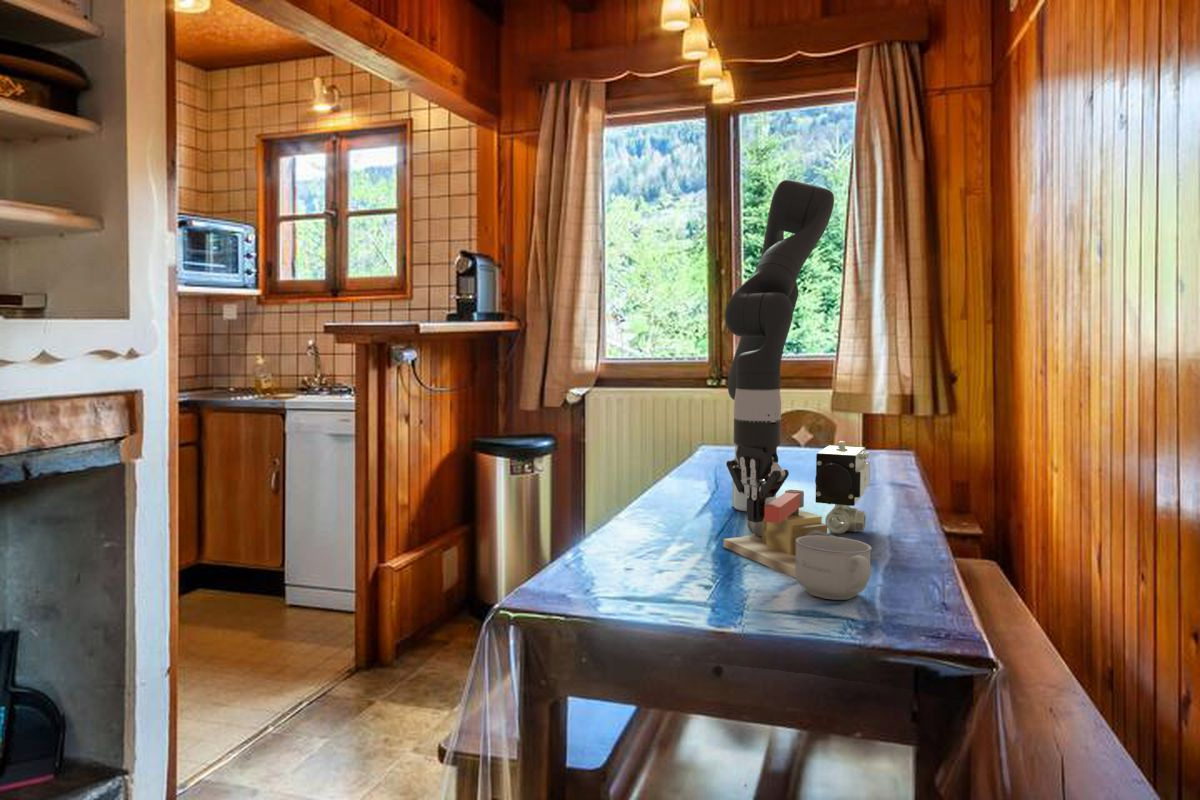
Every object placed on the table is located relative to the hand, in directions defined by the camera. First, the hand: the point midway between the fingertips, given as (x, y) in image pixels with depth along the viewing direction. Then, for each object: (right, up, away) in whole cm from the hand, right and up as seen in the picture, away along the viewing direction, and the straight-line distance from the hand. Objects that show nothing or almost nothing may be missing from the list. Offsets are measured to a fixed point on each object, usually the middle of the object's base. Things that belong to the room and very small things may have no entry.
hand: (755, 521), depth 128 cm
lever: (+5, +1, +2) cm, 6 cm away
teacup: (+9, -9, -13) cm, 19 cm away
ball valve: (+23, -6, +27) cm, 36 cm away
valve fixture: (+8, -7, +8) cm, 14 cm away
